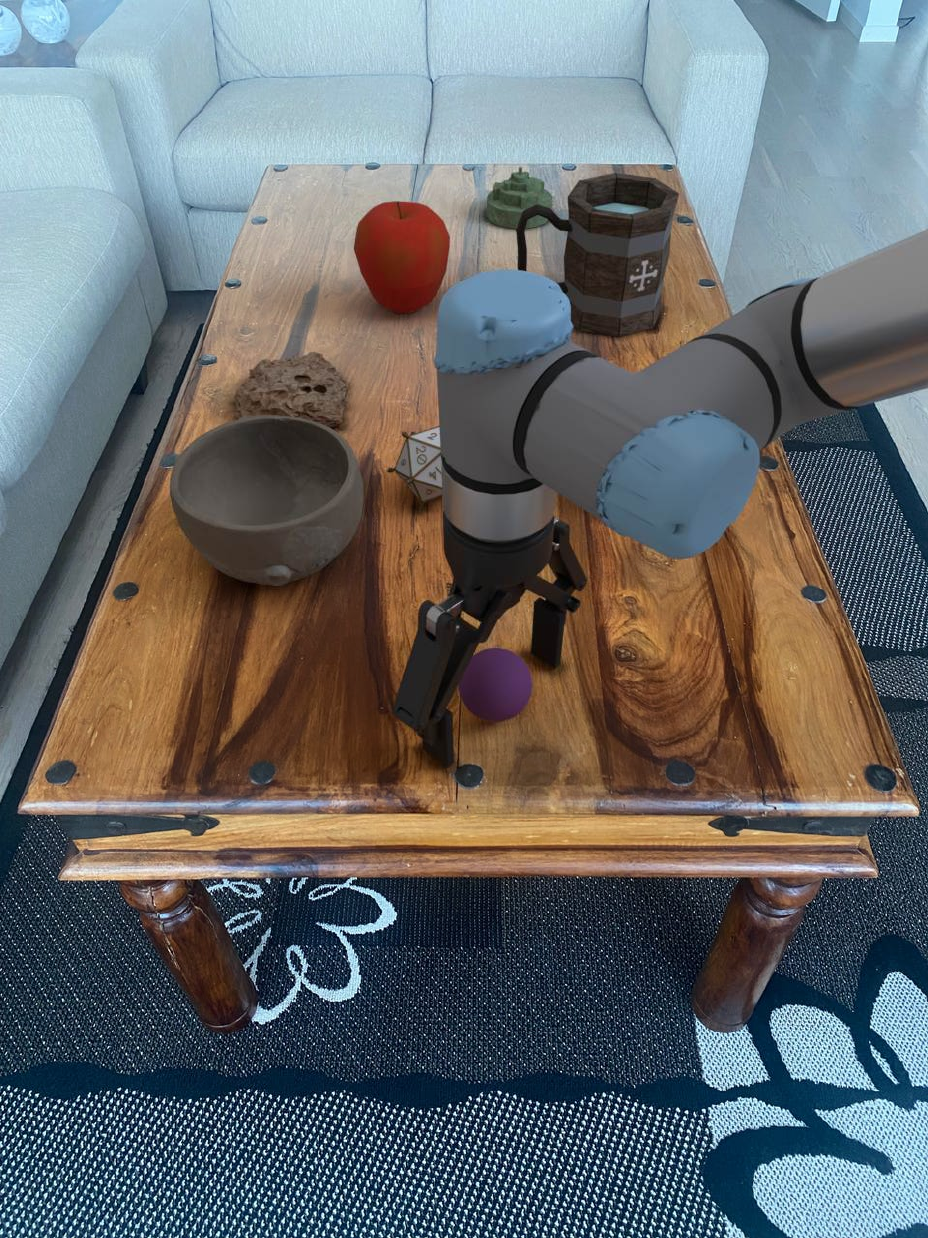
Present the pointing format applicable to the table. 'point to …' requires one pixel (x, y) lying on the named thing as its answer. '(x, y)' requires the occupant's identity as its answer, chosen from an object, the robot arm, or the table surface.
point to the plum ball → (496, 685)
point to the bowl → (268, 497)
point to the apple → (402, 254)
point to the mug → (612, 251)
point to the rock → (294, 390)
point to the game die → (421, 464)
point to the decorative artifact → (517, 200)
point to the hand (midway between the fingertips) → (494, 705)
